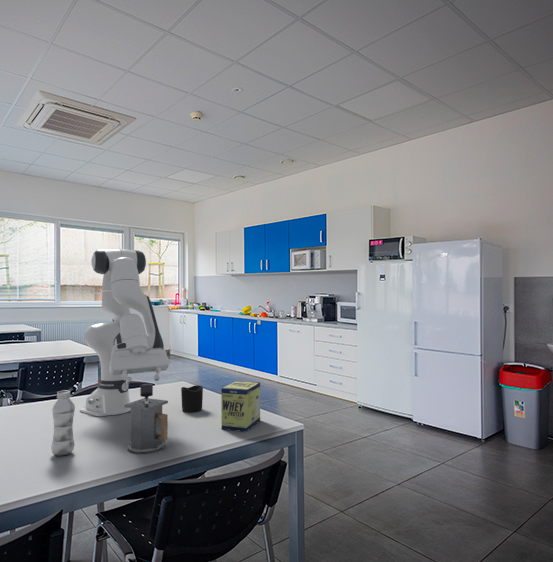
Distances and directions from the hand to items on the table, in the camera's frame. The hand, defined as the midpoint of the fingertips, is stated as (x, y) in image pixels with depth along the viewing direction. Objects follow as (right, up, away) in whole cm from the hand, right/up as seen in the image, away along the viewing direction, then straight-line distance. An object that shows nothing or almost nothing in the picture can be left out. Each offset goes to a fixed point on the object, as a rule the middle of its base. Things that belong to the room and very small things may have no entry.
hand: (143, 381), depth 147 cm
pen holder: (+8, -23, +42) cm, 48 cm away
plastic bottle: (-23, -21, -9) cm, 33 cm away
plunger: (+2, -19, -3) cm, 19 cm away
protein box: (+32, -22, +21) cm, 44 cm away
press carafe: (+2, -21, -3) cm, 22 cm away
